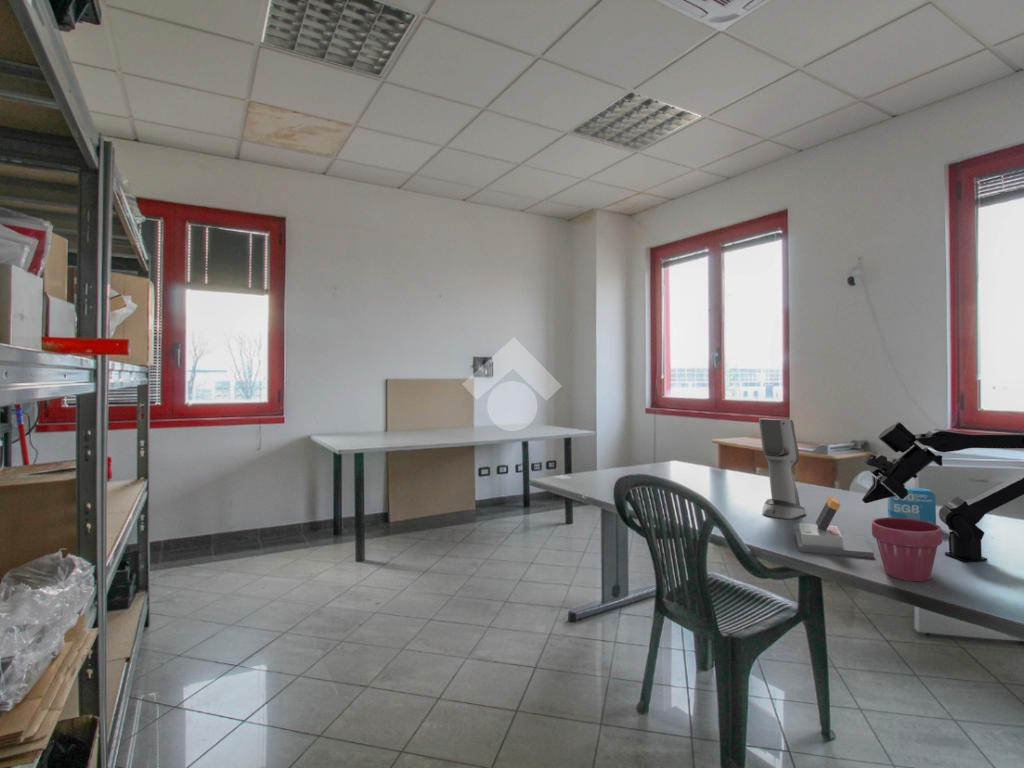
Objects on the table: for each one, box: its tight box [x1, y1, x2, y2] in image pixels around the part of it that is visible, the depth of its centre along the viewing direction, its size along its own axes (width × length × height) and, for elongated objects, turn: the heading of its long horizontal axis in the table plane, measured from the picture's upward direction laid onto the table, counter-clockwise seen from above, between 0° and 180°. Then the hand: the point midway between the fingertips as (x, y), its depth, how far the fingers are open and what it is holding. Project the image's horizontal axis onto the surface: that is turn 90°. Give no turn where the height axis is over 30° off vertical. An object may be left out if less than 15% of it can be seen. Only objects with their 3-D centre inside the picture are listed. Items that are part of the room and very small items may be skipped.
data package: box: [887, 487, 937, 525], centre depth 175 cm, size 12×4×12 cm, turn 64°
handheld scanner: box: [758, 417, 807, 520], centre depth 194 cm, size 12×13×35 cm
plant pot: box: [871, 517, 943, 582], centre depth 134 cm, size 14×14×13 cm
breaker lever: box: [815, 495, 841, 532], centre depth 158 cm, size 2×7×9 cm, turn 156°
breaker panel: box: [794, 523, 875, 559], centre depth 157 cm, size 18×16×5 cm
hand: (863, 501), depth 154 cm, fingers closed
